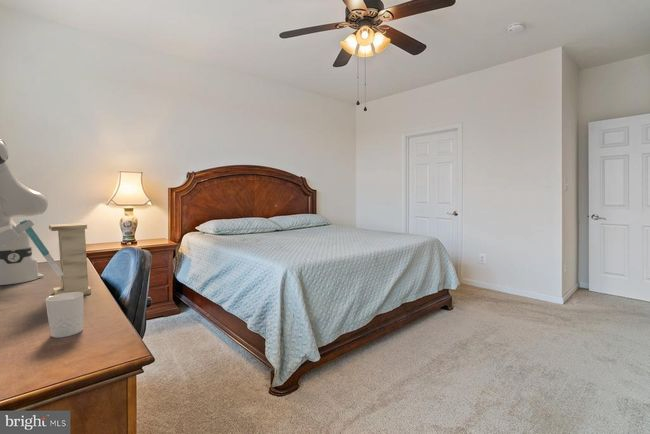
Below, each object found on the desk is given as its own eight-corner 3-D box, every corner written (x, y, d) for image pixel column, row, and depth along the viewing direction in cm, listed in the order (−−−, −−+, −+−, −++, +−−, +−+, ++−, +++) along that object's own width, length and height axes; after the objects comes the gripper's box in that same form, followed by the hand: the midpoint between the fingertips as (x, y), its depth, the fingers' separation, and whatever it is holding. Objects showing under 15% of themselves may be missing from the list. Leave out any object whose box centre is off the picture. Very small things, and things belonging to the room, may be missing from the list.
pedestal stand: (53, 292, 124) (48, 224, 122) (85, 287, 131) (81, 222, 129) (56, 299, 116) (51, 226, 114) (91, 293, 123) (86, 224, 121)
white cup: (92, 328, 90) (90, 293, 89) (61, 340, 83) (58, 302, 82) (72, 325, 93) (70, 290, 92) (40, 336, 85) (38, 299, 85)
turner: (19, 223, 99) (26, 220, 100) (18, 222, 105) (25, 219, 106) (58, 277, 106) (65, 274, 107) (56, 273, 112) (62, 270, 113)
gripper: (-33, 242, 88) (26, 214, 96) (-27, 236, 102) (23, 212, 110) (-14, 261, 90) (41, 232, 98) (-11, 252, 105) (37, 228, 113)
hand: (32, 222), depth 104 cm, fingers closed on turner, 2 cm apart
